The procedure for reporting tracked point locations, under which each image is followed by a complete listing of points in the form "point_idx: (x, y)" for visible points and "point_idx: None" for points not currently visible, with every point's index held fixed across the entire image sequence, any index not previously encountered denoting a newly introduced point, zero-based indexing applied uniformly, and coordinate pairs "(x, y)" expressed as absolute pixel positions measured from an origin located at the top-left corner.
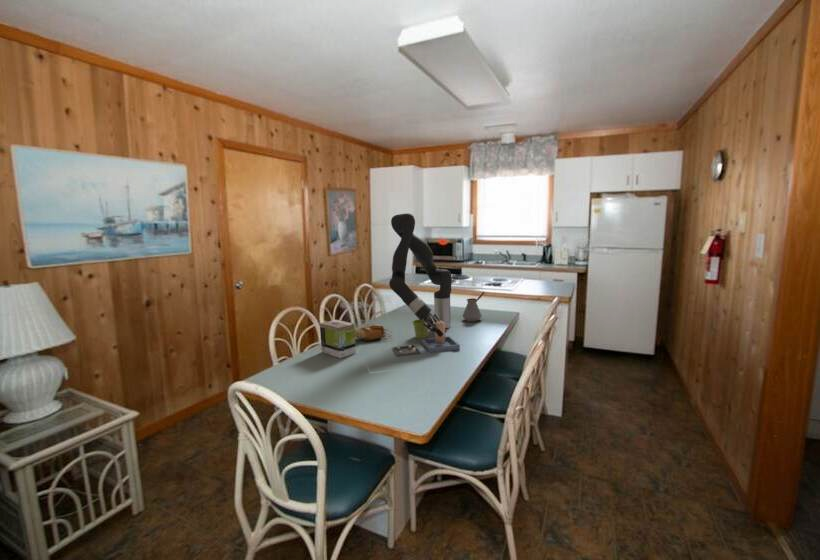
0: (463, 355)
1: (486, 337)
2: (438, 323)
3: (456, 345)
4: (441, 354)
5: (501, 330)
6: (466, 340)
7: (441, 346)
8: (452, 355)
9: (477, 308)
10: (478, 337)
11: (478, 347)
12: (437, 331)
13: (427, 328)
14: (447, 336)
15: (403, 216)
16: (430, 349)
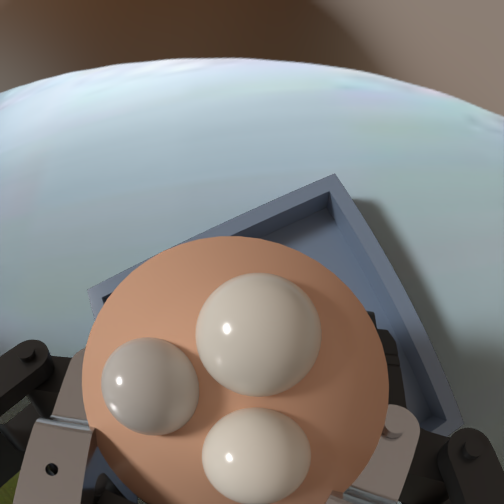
0: (432, 168)
1: (86, 100)
2: (296, 426)
3: (350, 198)
4: (455, 322)
5: (28, 85)
6: (111, 180)
7: (413, 331)
8: (455, 237)
9: None
10: (76, 131)
11: (257, 98)
12: (391, 401)
13: (13, 481)
14: (94, 307)
15: None
16: (457, 419)
